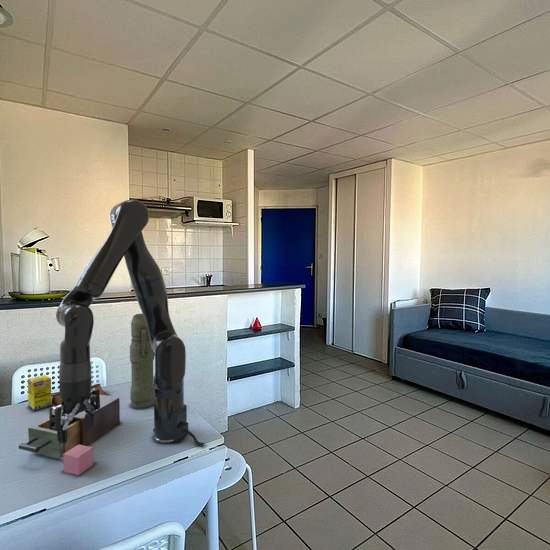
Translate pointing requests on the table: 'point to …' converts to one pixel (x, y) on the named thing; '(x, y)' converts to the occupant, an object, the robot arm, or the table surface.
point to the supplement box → (39, 392)
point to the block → (78, 459)
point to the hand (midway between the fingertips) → (76, 434)
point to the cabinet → (100, 419)
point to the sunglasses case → (57, 398)
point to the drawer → (51, 439)
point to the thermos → (141, 364)
